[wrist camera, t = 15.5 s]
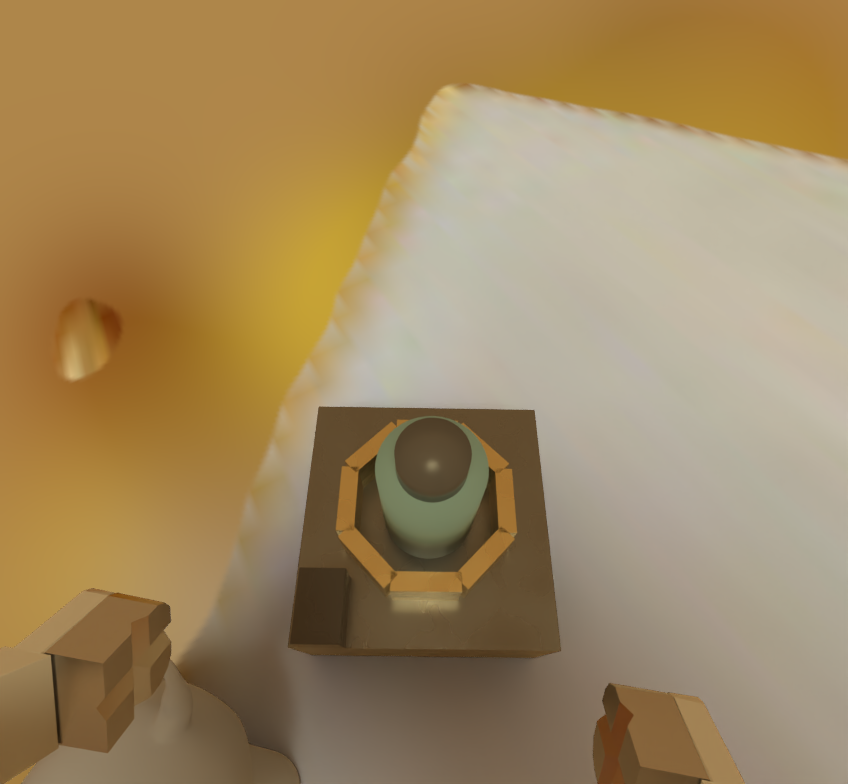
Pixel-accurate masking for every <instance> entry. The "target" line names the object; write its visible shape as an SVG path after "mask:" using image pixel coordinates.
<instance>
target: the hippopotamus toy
mask: <svg viewBox="0 0 848 784" xmlns="http://www.w3.org/2000/svg"><path fill="white" fill-rule="evenodd" d="M21 784H300V780H299V775H298V772H297V770H296V768H295V766H294V765H293V763H292V762H291V761H290V760H289V759H288V758H287V757H286V756H284V755H283V754H281V753H279V752H276V751H273V750H270V749H266V748H262V747H259V746H255V745H251V744H249V743H248V738H247V735H246V732H245V729H244V727H243V724H242V722H241V721H240V719H239V717H238V716H237V715H236V714H235V712H234V711H233V710H232V709H231V708H230V707H229V706H228V705H226V704H225V703H224V702H223V701H221V700H220V699H218V698H217V697H215V696H214V695H212V694H211V693H209V692H207V691H205V690H203V689H201V688H199V687H197V686H194V685H192V684H189V683H187V682H186V681H185V680H184V678H183V677H182V676H181V674H180V672H179V671H178V669H177V667H176V666H175V664H174V663H173V662H172V661H171V660H170V661H169V666H168V668H167V671H166V673H165V675H164V678H163V679H162V682H161V684H160V685H159V686H158V688H157V689H156V691H155V692H154V693H153V695H152V696H151V697H150V698H148V699H146V700H145V701H143V702H141V703H139V704H137V705H135V706H134V720H133V721H132V722H131V724H130V725H129V726H128V728H127V729H126V730H125V732H124V733H123V734H122V736H121V737H120V738H119V739H118V741H117V742H116V743H115V745H114V746H113V747H112V749H111V750H110V751H109V753H103V752H97V751H91V750H86V749H80V748H74V747H68V746H62V745H59V748H58V749H57V750H55V751H53V752H52V753H50V754H49V755H47V756H46V757H44V758H43V759H41V760H40V761H38V762H37V763H36V764H35V766H34V767H33V768H32V770H31V771H30V772H29V773H28V775H27V776H26V778H25V779H24V780H23V782H22V783H21Z"/></svg>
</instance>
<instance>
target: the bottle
mask: <svg viewBox="0 0 848 784" xmlns="http://www.w3.org/2000/svg"><path fill="white" fill-rule="evenodd" d="M375 476H376V482H377V487H378V491H379V496H380V501H381V506H382V511H383V515H384V520H385V524H386V528H387V531H388V533H389V535H390V537H391V539H392V540H393V541H394V543H395V544H396V545H397V546H398V547H399V548H400V549H402V550H403V551H405V552H406V553H408V554H410V555H412V556H415V557H419V558H425V559H433V558H439V557H443V556H445V555H448V554H450V553H451V552H453V551H455V550H456V549H457V548H458V547H459V546H460V545H461V544H462V543H463V542H464V540H465V539H466V538H467V536H468V534H469V532H470V529H471V526H472V524H473V521H474V518H475V516H476V513H477V510H478V508H479V505H480V502H481V500H482V497H483V494H484V492H485V489H486V486H487V482H488V477H489V465H488V459H487V455H486V452H485V450H484V448H483V446H482V444H481V442H480V441H479V439H478V438H477V437H476V436H475V435H474V434H473V432H471V431H470V430H469V429H468V428H467V427H465V426H464V425H462V424H460V423H458V422H456V421H454V420H451V419H449V418H445V417H439V416H424V417H418V418H414V419H411V420H409V421H406V422H404V423H402V424H401V425H399V426H398V427H396V428H395V429H394V430H393V431H392V432H390V433H389V435H388V436H387V437H386V438H385V440H384V441H383V443H382V444H381V446H380V449H379V451H378V454H377V457H376V463H375Z"/></svg>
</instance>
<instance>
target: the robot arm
mask: <svg viewBox="0 0 848 784" xmlns="http://www.w3.org/2000/svg"><path fill="white" fill-rule="evenodd" d="M170 615H171V614H170V606H169V605H167V604H166V603H164V602H159V601H154V600H150V599H145V598H140V597H135V596H130V595H125V594H121V593H113V592H108V591H104V590H99V589H94V588H91V589H88V590H84V591H82V592H81V593H80V594H79V595H77V596H76V597H75V598H74V599H72V600H71V601H70V602H69V603H68V604H66V605H65V606H64V607H63V608H61V609H60V610H59V611H58V612H57V613H55V614H54V615H53V616H52V617H51V618H49V619H48V620H47V621H46V622H44V623H43V624H42V625H41V626H40V627H38V628H37V629H36V630H35V631H34V632H32V633H31V634H30V635H29V636H27V637H26V638H25V639H24V640H23V641H21V642H20V643H19V644H18V645H16V646H15V647H14V648H11V647H3V648H0V784H4V783H6V782H7V781H9V780H11V779H12V778H13V777H15V776H17V775H18V774H20V773H21V772H23V771H24V770H26V769H27V768H29V767H30V766H32V765H34V764H35V763H37V762H38V761H40V760H41V759H43V758H44V757H46V756H47V755H49V754H50V753H52V752H53V751H55V750H57V749H58V748H59V745H62V746H68V747H74V748H80V749H86V750H91V751H97V752H103V753H109V751H110V750H111V749H112V747H113V746H114V745H115V743H116V742H117V741H118V739H119V738H120V737H121V736H122V734H123V733H124V732H125V730H126V729H127V728H128V726H129V725H130V724H131V722H132V721H133V720H134V706H135V705H137V704H139V703H141V702H143V701H145V700H146V699H148V698H150V697H151V696H152V695H153V693H154V692H155V691H156V689H157V688H158V686H159V685H160V684H161V682H162V679H163V677H164V675H165V673H166V671H167V668H168V666H169V661H170V656H171V641H170V639H169V638H168V636H167V635H166V633H165V632H164V629H165V628H166V627H167V626H168V624H169V623H170V622H171V616H170ZM602 701H603V705H604V709H605V713H606V715H604V716H603V717H602V718H600V719H599V720H598V721H597V723H596V728H595V732H594V737H593V761H594V770H595V775H596V780H597V784H745V782H744V781H743V779H742V777H741V775H740V773H739V771H738V769H737V767H736V765H735V763H734V761H733V759H732V757H731V755H730V753H729V751H728V749H727V747H726V745H725V744H724V742H723V740H722V738H721V736H720V734H719V732H718V730H717V728H716V726H715V724H714V722H713V720H712V718H711V716H710V714H709V712H708V710H707V708H706V707H705V705H704V703H703V702H702V701H701V700H700V699H699V698H698V697H694V696H688V695H681V694H675V693H669V692H668V693H665V692H660V691H654V690H648V689H643V688H637V687H631V686H625V685H619V684H614V683H609V684H608V686H607V687H606V689H605V692H604V696H603V700H602Z"/></svg>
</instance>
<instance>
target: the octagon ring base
mask: <svg viewBox="0 0 848 784" xmlns="http://www.w3.org/2000/svg"><path fill="white" fill-rule="evenodd" d="M424 416H439V417H445V418H449V419H451V420H454V421H456V422H458V423H460V424H462V425H464V426H465V427H467V428H468V429H469V430H470V431H471V432H473V434H474V435H475V436H476V437H477V438H478V439H479V441H480V442H481V444H482V446H483V448H484V450H485V452H486V455H487V459H488V465H489V477H488V482H487V486H486V489H485V492H484V494H483V497H482V500H481V502H480V505H479V508H478V510H477V513H476V516H475V518H474V521H473V524H472V526H471V529H470V532H469V534H468V536H467V538H466V539H465V540H464V542H463V543H462V544H461V545H460V546H459V547H458V548H457V549H456V550H455V551H453V552H451V553H450V554H448V555H445V556H443V557H439V558H433V559H425V558H419V557H415V556H412V555H410V554H408V553H406V552H405V551H403V550H402V549H400V548H399V547H398V546H397V545H396V544H395V543H394V541H393V540H392V539H391V537H390V535H389V533H388V531H387V528H386V524H385V520H384V515H383V511H382V506H381V501H380V496H379V491H378V487H377V482H376V476H375V463H376V457H377V454H378V451H379V449H380V446H381V444H382V443H383V441H384V440H385V438H386V437H387V436H388V435H389V433H390V432H392V431H393V430H394V429H395V428H396V427H398V426H399V425H401V424H402V423H404V422H406V421H409V420H411V419H414V418H418V417H424ZM288 648H291V649H294V650H297V651H300V652H303V653H307V654H310V655H336V656H416V657H496V658H536V657H539V656H543V655H547V654H551V653H555V652H559V651H561V647H560V638H559V629H558V619H557V610H556V601H555V592H554V583H553V574H552V565H551V556H550V547H549V538H548V529H547V520H546V511H545V502H544V492H543V483H542V474H541V465H540V456H539V447H538V438H537V429H536V420H535V411H534V410H497V409H434V408H371V407H319V409H318V417H317V424H316V432H315V440H314V448H313V456H312V463H311V471H310V479H309V487H308V494H307V502H306V510H305V518H304V526H303V533H302V541H301V549H300V557H299V564H298V572H297V580H296V588H295V596H294V603H293V611H292V619H291V627H290V634H289V642H288Z"/></svg>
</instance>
